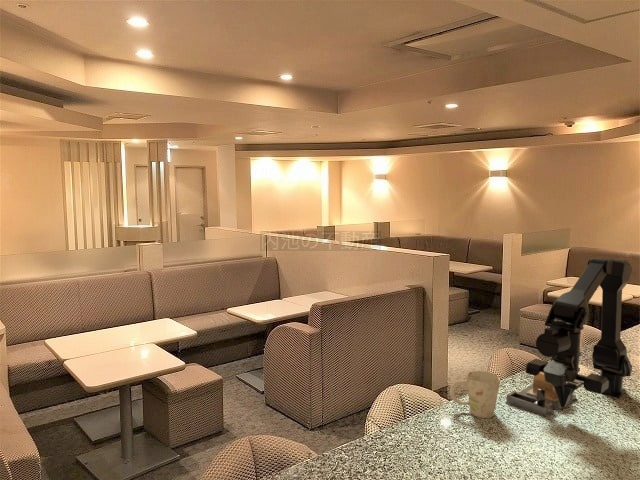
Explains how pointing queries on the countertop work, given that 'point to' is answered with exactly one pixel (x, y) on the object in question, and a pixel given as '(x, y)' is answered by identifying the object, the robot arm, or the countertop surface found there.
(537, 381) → the block
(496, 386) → the mug
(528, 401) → the lever track
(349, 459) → the countertop surface
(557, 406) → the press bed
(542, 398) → the lever
